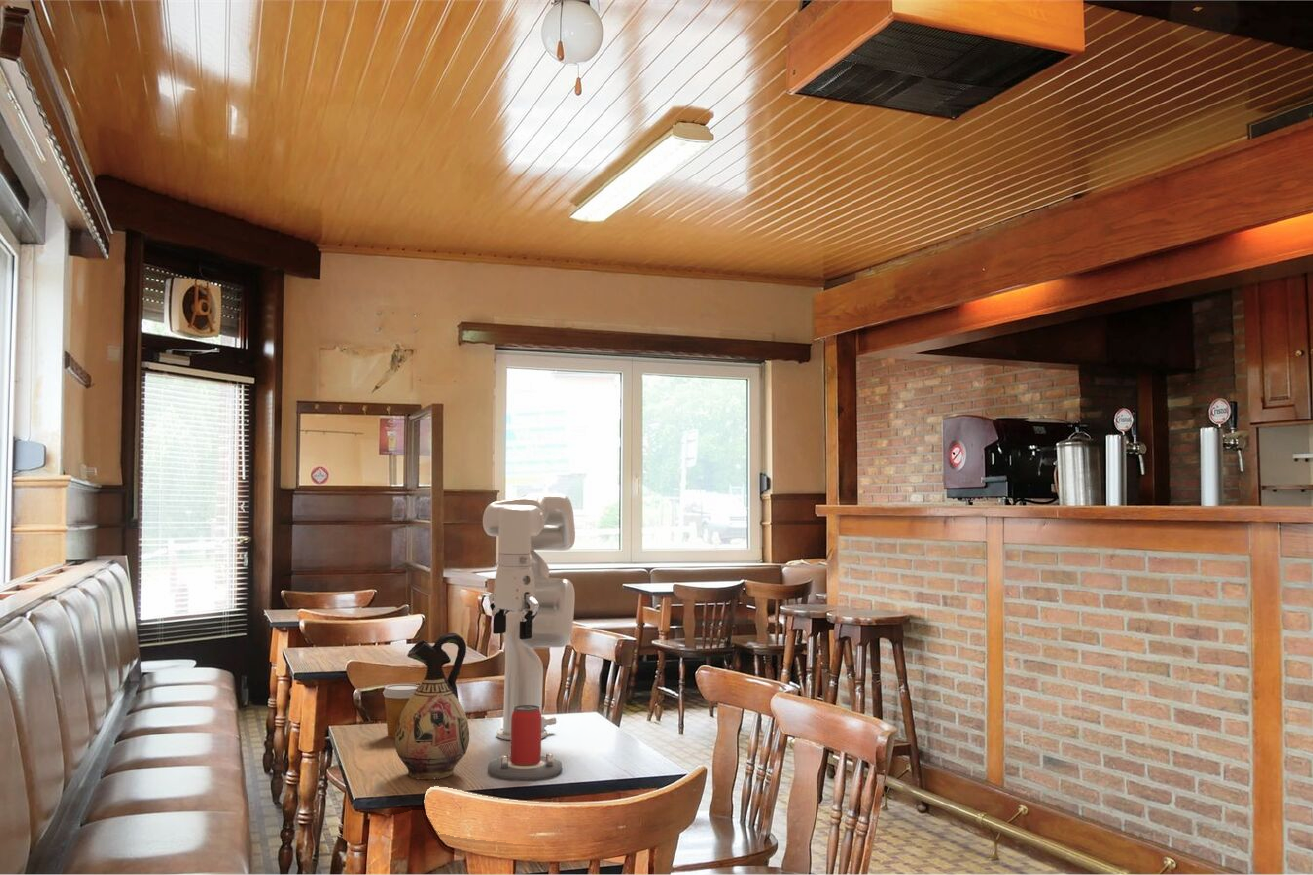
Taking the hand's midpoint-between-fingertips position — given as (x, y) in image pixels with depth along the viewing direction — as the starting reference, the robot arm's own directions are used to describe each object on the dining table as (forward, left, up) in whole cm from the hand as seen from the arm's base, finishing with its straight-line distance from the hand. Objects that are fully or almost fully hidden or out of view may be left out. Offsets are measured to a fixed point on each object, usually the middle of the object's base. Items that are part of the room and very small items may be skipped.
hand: (512, 635), depth 236 cm
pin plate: (+4, +11, -28) cm, 30 cm away
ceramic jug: (+20, +2, -28) cm, 35 cm away
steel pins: (+5, +11, -26) cm, 29 cm away
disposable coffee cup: (+6, -36, -28) cm, 46 cm away
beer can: (+4, +11, -26) cm, 29 cm away
